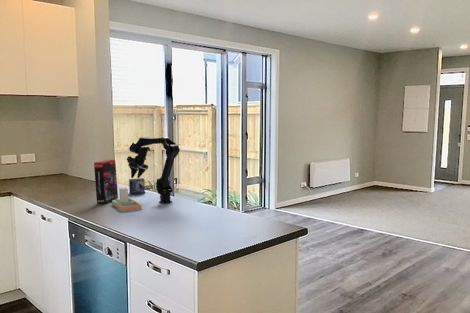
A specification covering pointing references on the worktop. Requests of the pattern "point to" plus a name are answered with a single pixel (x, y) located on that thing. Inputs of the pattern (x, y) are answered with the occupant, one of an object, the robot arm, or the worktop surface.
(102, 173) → the graphics card box
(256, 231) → the worktop surface
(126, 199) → the cream rectangular block
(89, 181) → the worktop surface
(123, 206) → the frame
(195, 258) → the worktop surface
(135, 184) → the small box
